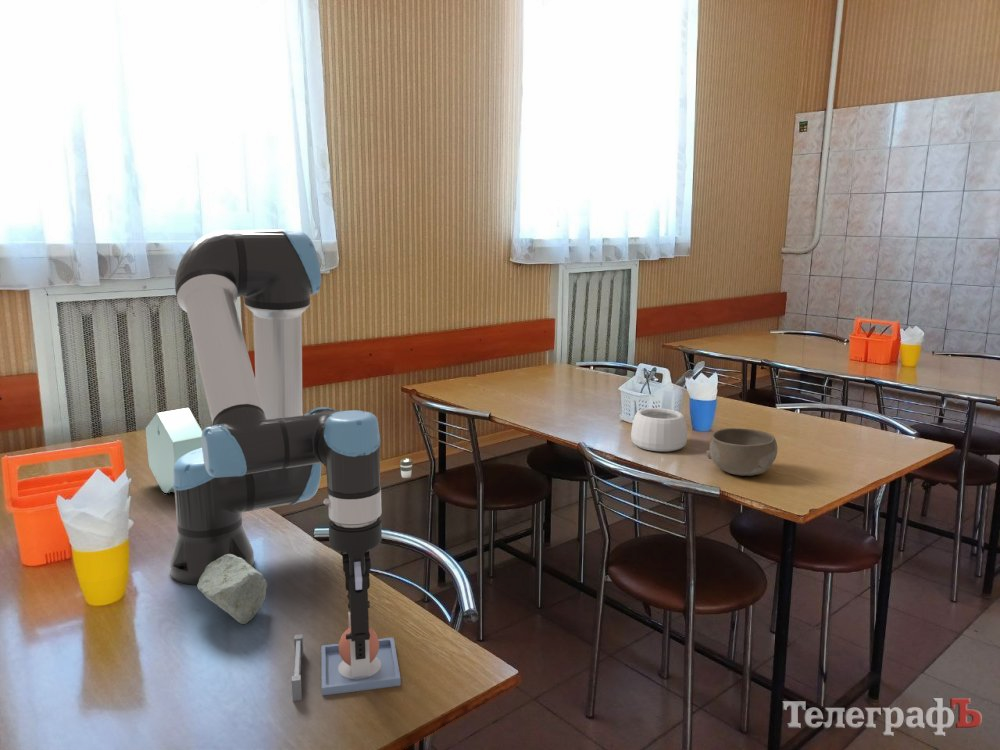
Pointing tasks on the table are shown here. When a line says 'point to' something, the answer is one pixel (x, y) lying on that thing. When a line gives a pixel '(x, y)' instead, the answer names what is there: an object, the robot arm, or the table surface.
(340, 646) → the ball
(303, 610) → the table surface
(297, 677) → the fence
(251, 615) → the decorative stone
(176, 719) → the table surface
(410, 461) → the coffee cup
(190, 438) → the pale green faceted block
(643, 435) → the white faceted pot
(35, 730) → the table surface
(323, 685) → the dish
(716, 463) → the bowl
